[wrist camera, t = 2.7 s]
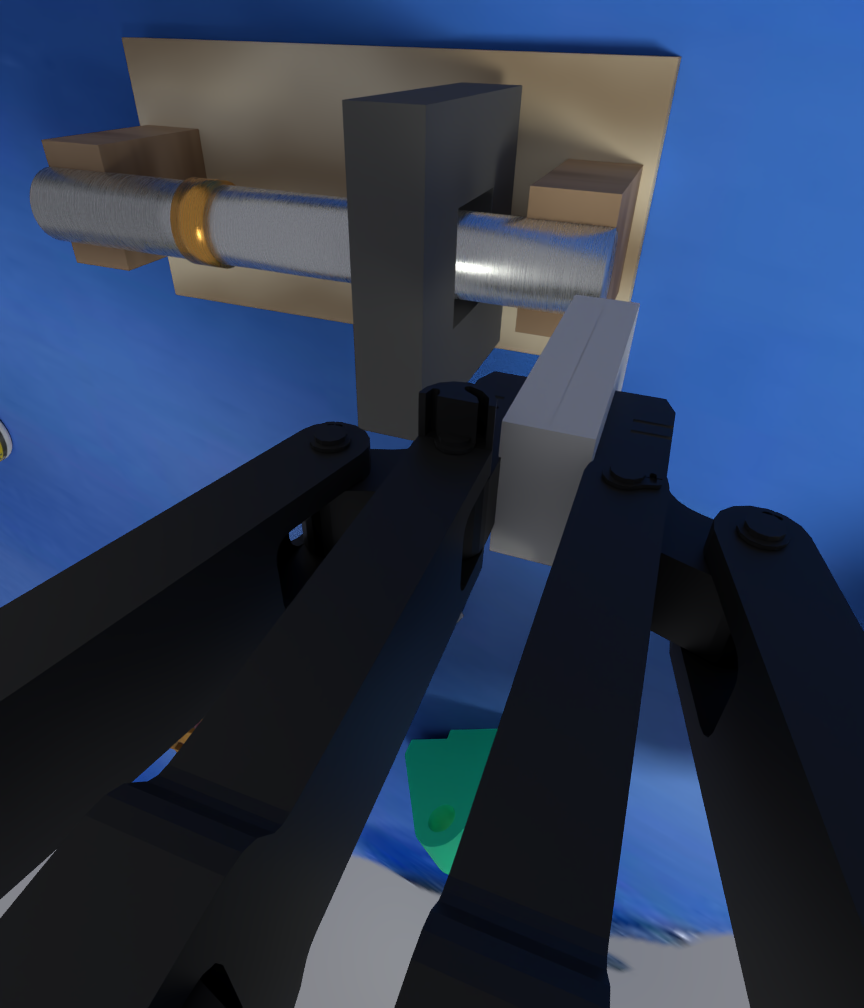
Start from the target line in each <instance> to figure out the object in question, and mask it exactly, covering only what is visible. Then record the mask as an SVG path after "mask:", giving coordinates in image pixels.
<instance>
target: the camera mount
mask: <svg viewBox="0 0 864 1008" xmlns="http://www.w3.org/2000/svg"><path fill="white" fill-rule="evenodd" d="M496 732H497V729H465V730H450V733H449V735H448V738H447V739H414V740H411V742H410V745H409V747H408V749H407V751H406V753H405V759H406V767H407V775H408V782H409V790H410V797H411V805H412V813H413V820H414V828H415V834H416V837H417V839H418V840H419V842H420V843H421V844H422V846H423V847H424V848H425V850H426V851H427V852H428V854H429V855H430V856H431V858H432V859H433V861H434V862H435V863H436V865H437V866H438V867H439V869H440V870H441V871H443V872H444V873H446V874H449V873H450V870H451V867H452V864H453V861H454V858H455V855H456V852H457V849H458V846H459V843H460V840H461V837H462V834H463V831H464V828H465V825H466V822H467V819H468V816H469V813H470V810H471V807H472V804H473V801H474V798H475V795H476V792H477V789H478V786H479V783H480V780H481V777H482V774H483V771H484V768H485V765H486V762H487V759H488V756H489V753H490V750H491V747H492V744H493V741H494V738H495V735H496Z"/></svg>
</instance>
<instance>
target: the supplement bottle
mask: <svg viewBox="0 0 864 1008" xmlns="http://www.w3.org/2000/svg"><path fill="white" fill-rule="evenodd" d="M11 451H12V441H11V437H10V435H9V433H8V431H7V429H6V428H5V426H4V425H3V423H2V422H1V421H0V461H2V460H4V459H5V458H7V457H8V456H9V455H10V453H11Z"/></svg>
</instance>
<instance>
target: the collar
mask: <svg viewBox="0 0 864 1008" xmlns="http://www.w3.org/2000/svg"><path fill="white" fill-rule="evenodd" d="M521 96H522V85H506V84H486V83H466V82H460V83H453V84H447V85H440V86H433V87H426V88H419V89H413V90H406V91H399V92H392V93H385V94H379V95H372V96H365V97H358V98H352V99H345V100H342V110H343V130H344V150H345V170H346V190H347V210H348V230H349V249H350V269H351V289H352V309H353V329H354V349H355V369H356V389H357V409H358V427H359V428H361V429H363V430H366V431H371V432H375V433H380V434H385V435H389V436H394V437H399V438H403V439H408V440H413V441H415V439H416V438H417V437H418V411H419V392H420V391H421V390H422V389H424V388H425V387H427V386H430V385H433V384H436V383H440V382H451V381H457V382H468V381H469V380H470V378H471V377H472V376H473V375H474V373H475V372H476V371H477V369H478V368H479V367H480V366H481V364H482V363H483V362H484V360H485V359H486V358H487V357H488V355H489V354H490V353H491V351H492V350H493V349H494V348H495V346H496V345H497V344H498V342H499V341H500V331H501V320H502V309H503V306H502V305H495V304H488V303H482V302H475V301H468V300H461V299H454V294H455V271H456V249H457V226H458V210H466V211H475V212H484V213H493V214H503V215H511V208H512V197H513V186H514V175H515V164H516V152H517V141H518V130H519V119H520V108H521Z"/></svg>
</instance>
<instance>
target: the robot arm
mask: <svg viewBox="0 0 864 1008" xmlns="http://www.w3.org/2000/svg"><path fill="white" fill-rule="evenodd" d="M639 306H640V303H634V302H627V301H619V300H612V299H605V298H597V297H590V296H583V295H575V296H574V298H573V300H572V301H571V303H570V305H569V306H568V308H567V310H566V312H565V313H564V315H563V317H562V319H561V320H560V322H559V324H558V325H557V327H556V329H555V331H554V332H553V334H552V336H551V337H550V339H549V341H548V343H547V344H546V346H545V348H544V350H543V351H542V353H541V355H540V356H539V358H538V360H537V362H536V363H535V365H534V367H533V368H532V370H531V372H530V374H529V375H528V377H524V376H518V375H513V374H507V373H501V372H495V371H494V372H492V373H490V374H488V375H486V376H484V377H482V378H480V379H478V380H477V382H476V383H475V384H472V383H468V382H457V381H451V382H440V383H436V384H433V385H430V386H427V387H425V388H424V389H422V390H421V391H420V392H419V411H418V437H417V438H416V439H415V441H414V442H413V443H412V444H411V446H410V447H409V448H408V449H397V450H387V449H370V438H369V436H368V435H367V433H366V431H364V430H363V429H361V428H359V427H357V426H355V425H351V424H347V423H343V422H326V423H322V424H316V425H313V426H310V427H308V428H305V429H303V430H301V431H299V432H298V433H296V434H294V435H293V436H291V437H289V438H288V439H286V440H284V441H282V442H281V443H279V444H277V445H276V446H274V447H272V448H271V449H269V450H267V451H265V452H264V453H262V454H260V455H259V456H257V457H255V458H254V459H252V460H250V461H249V462H247V463H245V464H243V465H242V466H240V467H238V468H237V469H235V470H233V471H232V472H230V473H228V474H226V475H225V476H223V477H221V478H220V479H218V480H216V481H215V482H213V483H211V484H210V485H208V486H206V487H204V488H203V489H201V490H199V491H198V492H196V493H194V494H193V495H191V496H189V497H187V498H186V499H184V500H182V501H181V502H179V503H177V504H176V505H174V506H172V507H171V508H169V509H167V510H165V511H164V512H162V513H160V514H159V515H157V516H155V517H154V518H152V519H150V520H148V521H147V522H145V523H143V524H142V525H140V526H138V527H137V528H135V529H133V530H132V531H130V532H128V533H126V534H125V535H123V536H121V537H120V538H118V539H116V540H115V541H113V542H111V543H109V544H108V545H106V546H104V547H103V548H101V549H99V550H98V551H96V552H94V553H93V554H91V555H89V556H87V557H86V558H84V559H82V560H81V561H79V562H77V563H76V564H74V565H72V566H71V567H69V568H67V569H65V570H64V571H62V572H60V573H59V574H57V575H55V576H54V577H52V578H50V579H48V580H47V581H45V582H43V583H42V584H40V585H38V586H37V587H35V588H33V589H32V590H30V591H28V592H26V593H25V594H23V595H21V596H20V597H18V598H16V599H15V600H13V601H11V602H9V603H8V604H6V605H4V606H3V607H1V608H0V899H1V898H2V897H3V896H5V895H6V894H7V893H8V892H9V891H10V890H11V889H12V888H13V887H15V886H16V885H17V884H18V883H19V882H20V881H21V880H23V879H24V878H25V877H26V876H27V875H28V874H29V873H30V872H31V871H33V870H34V869H35V868H36V867H37V866H38V865H39V864H40V863H42V862H43V861H44V860H45V859H46V858H47V857H48V856H49V855H50V854H52V853H53V852H54V851H55V850H56V849H57V850H56V851H55V852H54V854H53V855H52V856H51V857H50V858H49V860H48V861H47V862H46V863H45V864H44V866H43V867H42V868H41V869H40V870H39V872H38V873H37V874H36V875H35V877H34V878H33V879H32V880H31V881H30V883H29V884H28V885H27V886H26V888H25V889H24V890H23V891H22V893H21V894H20V895H19V896H18V897H17V899H16V900H15V901H14V902H13V904H12V905H11V906H10V907H9V909H8V910H7V911H6V912H5V913H4V914H3V916H2V917H1V918H0V1008H294V1006H295V1003H296V1000H297V997H298V993H299V990H300V987H301V982H302V977H303V972H304V968H305V963H306V959H307V956H308V953H309V949H310V946H311V944H312V941H313V939H314V936H315V934H316V931H317V929H318V927H319V925H320V923H321V920H322V918H323V916H324V914H325V912H326V909H327V907H328V905H329V903H330V901H331V898H332V896H333V894H334V892H335V890H336V887H337V885H338V883H339V881H340V879H341V876H342V874H343V872H344V870H345V868H346V865H347V863H348V861H349V859H350V857H351V854H352V852H353V850H354V848H355V846H356V843H357V841H358V839H359V837H360V835H361V832H362V830H363V828H364V826H365V824H366V821H367V819H368V817H369V815H370V813H371V810H372V808H373V806H374V804H375V802H376V799H377V797H378V795H379V793H380V791H381V788H382V786H383V784H384V782H385V780H386V777H387V775H388V773H389V771H390V769H391V766H392V764H393V762H394V760H395V758H396V755H397V753H398V751H399V749H400V747H401V744H402V742H403V740H404V738H405V736H406V733H407V731H408V729H409V727H410V725H411V722H412V720H413V718H414V716H415V714H416V711H417V709H418V707H419V705H420V703H421V700H422V698H423V696H424V694H425V692H426V689H427V687H428V685H429V683H430V681H431V678H432V676H433V674H434V672H435V670H436V667H437V665H438V663H439V661H440V659H441V656H442V654H443V652H444V650H445V648H446V645H447V643H448V641H449V639H450V637H451V634H452V632H453V630H454V628H455V626H456V623H457V621H458V619H459V617H460V615H461V612H462V610H463V608H464V606H465V604H466V601H467V599H468V597H469V595H470V593H471V590H472V588H473V586H474V584H475V582H476V579H477V577H478V575H479V573H480V571H481V568H482V562H483V552H484V545H485V543H486V541H487V539H488V536H489V534H490V532H491V539H490V551H494V552H498V553H502V554H506V555H510V556H514V557H518V558H522V559H526V560H530V561H534V562H537V563H541V564H545V565H549V566H552V567H551V570H550V573H549V576H548V579H547V582H546V585H545V588H544V591H543V594H542V597H541V600H540V603H539V606H538V609H537V612H536V615H535V618H534V621H533V624H532V627H531V630H530V633H529V636H528V639H527V642H526V645H525V648H524V651H523V654H522V657H521V660H520V663H519V666H518V669H517V672H516V675H515V678H514V681H513V684H512V687H511V690H510V693H509V696H508V699H507V702H506V705H505V708H504V711H503V714H502V717H501V720H500V723H499V726H498V729H497V732H496V735H495V738H494V741H493V744H492V747H491V750H490V753H489V756H488V759H487V762H486V765H485V768H484V771H483V774H482V777H481V780H480V783H479V786H478V789H477V792H476V795H475V798H474V801H473V804H472V807H471V810H470V813H469V816H468V819H467V822H466V825H465V828H464V831H463V834H462V837H461V840H460V843H459V846H458V849H457V852H456V855H455V858H454V861H453V864H452V867H451V870H450V873H449V876H448V878H447V881H446V884H445V887H444V890H443V892H442V894H441V896H440V899H439V901H438V902H437V903H436V904H435V906H434V907H433V908H432V909H431V911H430V913H429V916H428V918H427V920H426V922H425V924H424V926H423V929H422V931H421V934H420V937H419V939H418V942H417V945H416V948H415V950H414V953H413V955H412V958H411V961H410V964H409V967H408V970H407V973H406V976H405V979H404V981H403V985H402V987H401V990H400V993H399V996H398V999H397V1002H396V1005H395V1008H610V983H609V979H608V974H607V953H608V943H609V936H610V928H611V921H612V913H613V906H614V899H615V891H616V884H617V876H618V869H619V861H620V854H621V846H622V839H623V831H624V824H625V816H626V809H627V801H628V794H629V786H630V779H631V771H632V764H633V756H634V749H635V742H636V734H637V727H638V719H639V712H640V704H641V697H642V689H643V682H644V674H645V667H646V659H647V652H648V644H649V637H650V630H651V631H653V632H654V633H656V634H658V635H660V636H662V637H664V638H666V639H668V640H669V641H670V657H671V662H672V666H673V670H674V675H675V679H676V683H677V688H678V692H679V697H680V701H681V705H682V710H683V714H684V719H685V723H686V727H687V732H688V736H689V740H690V745H691V749H692V754H693V758H694V762H695V767H696V771H697V776H698V780H699V784H700V789H701V793H702V798H703V802H704V806H705V811H706V815H707V819H708V824H709V828H710V833H711V837H712V841H713V846H714V850H715V855H716V859H717V863H718V868H719V872H720V877H721V881H722V885H723V890H724V894H725V898H726V903H727V907H728V912H729V916H730V920H731V925H732V929H733V934H734V938H735V942H736V947H737V951H738V955H739V960H740V964H741V968H742V973H743V977H744V981H745V986H746V991H747V995H748V999H749V1003H750V1008H864V631H863V630H862V628H861V626H860V624H859V622H858V621H857V619H856V617H855V615H854V613H853V612H852V610H851V608H850V606H849V604H848V603H847V601H846V599H845V597H844V596H843V594H842V592H841V590H840V588H839V587H838V585H837V583H836V581H835V579H834V578H833V576H832V574H831V572H830V570H829V569H828V567H827V565H826V563H825V561H824V560H823V558H822V556H821V554H820V552H819V551H818V549H817V547H816V545H815V543H814V542H813V540H812V538H811V537H810V536H809V534H808V533H807V532H806V531H805V530H804V529H803V528H802V526H800V525H799V524H797V523H796V522H794V521H793V520H791V519H790V518H788V517H786V516H784V515H782V514H780V513H778V512H774V511H772V510H769V509H766V508H759V507H753V506H733V507H730V508H727V509H724V510H721V511H720V512H719V513H718V514H717V516H716V517H715V518H714V520H713V519H711V518H709V517H706V516H704V515H701V514H699V513H697V512H695V511H693V510H691V509H689V508H687V507H686V506H685V505H683V504H682V503H680V502H679V501H678V500H677V499H676V498H675V497H674V496H673V495H672V494H671V493H670V491H669V483H668V479H667V471H668V463H669V456H670V449H671V442H672V434H673V427H674V420H675V412H674V410H673V409H672V407H671V406H670V404H669V403H668V401H667V400H666V399H662V398H656V397H650V396H644V395H639V394H633V393H627V392H621V389H622V385H623V380H624V376H625V371H626V366H627V362H628V357H629V352H630V348H631V343H632V339H633V334H634V329H635V325H636V320H637V315H638V311H639ZM301 523H302V529H303V534H302V535H301V536H299V537H298V538H297V539H295V540H293V541H290V539H289V532H290V531H291V530H293V529H294V528H295V527H297V526H298V525H299V524H301ZM200 721H201V722H200ZM199 722H200V723H199ZM198 723H199V724H198ZM196 724H198V726H197V727H196V728H195V730H194V731H193V732H192V734H191V735H190V736H189V738H188V739H187V740H186V742H185V743H184V744H183V745H182V747H181V748H180V749H179V751H178V752H177V753H176V755H175V756H174V757H173V759H172V760H171V761H170V763H169V764H168V765H167V766H166V767H165V768H164V769H163V770H162V771H161V773H160V774H159V775H157V776H156V777H154V778H153V779H151V780H149V781H147V782H134V783H131V782H132V781H134V780H135V779H136V778H137V777H138V776H139V775H140V774H141V773H143V772H144V771H145V770H146V769H147V768H148V767H149V766H150V765H152V764H153V763H154V762H155V761H156V760H157V759H158V758H159V757H161V756H162V755H163V754H164V753H165V752H166V751H167V750H168V749H169V748H171V747H172V746H173V745H174V744H175V743H176V742H177V741H178V740H180V739H181V738H182V737H183V736H184V735H185V734H186V733H187V732H189V731H190V730H191V729H192V728H193V727H194V726H195V725H196Z"/></svg>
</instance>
